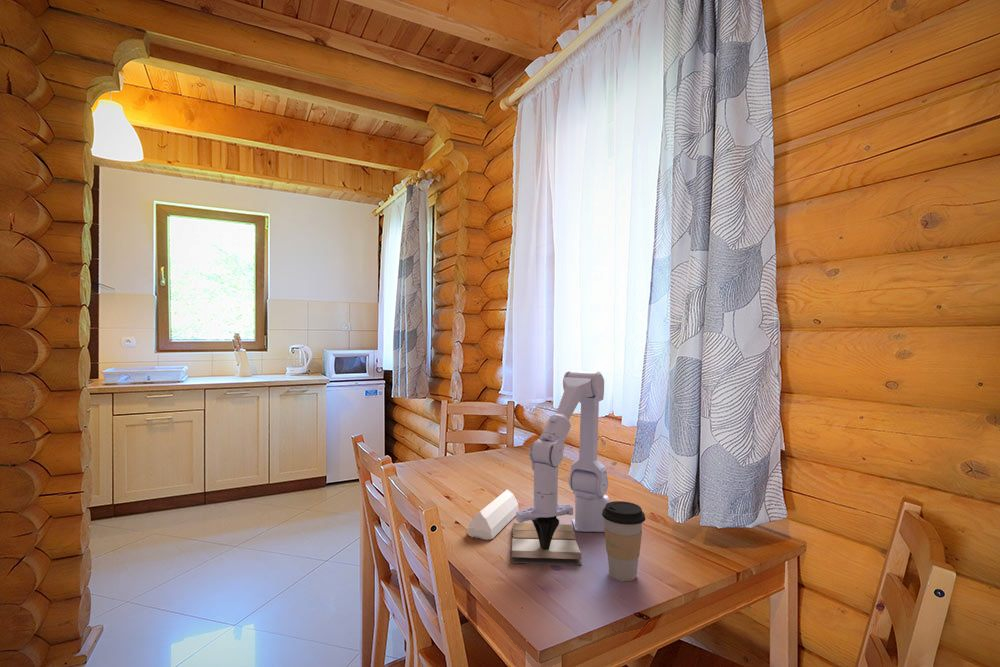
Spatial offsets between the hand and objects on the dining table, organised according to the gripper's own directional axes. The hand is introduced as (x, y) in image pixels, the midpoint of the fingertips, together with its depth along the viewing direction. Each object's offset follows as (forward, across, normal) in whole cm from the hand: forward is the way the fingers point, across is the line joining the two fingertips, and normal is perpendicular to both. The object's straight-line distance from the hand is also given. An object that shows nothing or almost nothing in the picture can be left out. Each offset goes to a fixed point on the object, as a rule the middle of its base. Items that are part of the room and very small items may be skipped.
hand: (544, 548), depth 110 cm
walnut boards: (+2, -6, -11) cm, 12 cm away
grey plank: (+2, -1, -2) cm, 3 cm away
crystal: (+3, +3, -24) cm, 24 cm away
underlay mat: (+2, -4, -7) cm, 8 cm away
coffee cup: (+3, -13, +13) cm, 18 cm away
